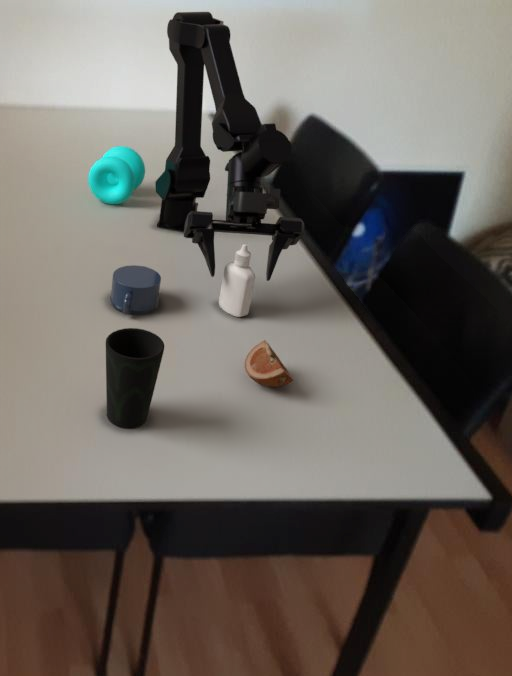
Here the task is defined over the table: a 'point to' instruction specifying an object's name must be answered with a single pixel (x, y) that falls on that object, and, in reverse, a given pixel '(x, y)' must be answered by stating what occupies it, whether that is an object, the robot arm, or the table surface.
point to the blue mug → (135, 290)
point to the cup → (131, 375)
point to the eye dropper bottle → (237, 284)
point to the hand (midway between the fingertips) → (240, 278)
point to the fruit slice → (266, 366)
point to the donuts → (116, 175)
